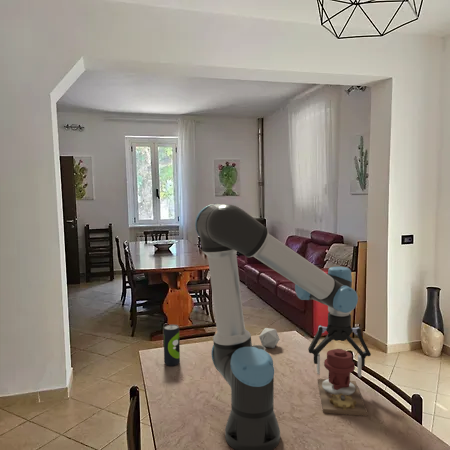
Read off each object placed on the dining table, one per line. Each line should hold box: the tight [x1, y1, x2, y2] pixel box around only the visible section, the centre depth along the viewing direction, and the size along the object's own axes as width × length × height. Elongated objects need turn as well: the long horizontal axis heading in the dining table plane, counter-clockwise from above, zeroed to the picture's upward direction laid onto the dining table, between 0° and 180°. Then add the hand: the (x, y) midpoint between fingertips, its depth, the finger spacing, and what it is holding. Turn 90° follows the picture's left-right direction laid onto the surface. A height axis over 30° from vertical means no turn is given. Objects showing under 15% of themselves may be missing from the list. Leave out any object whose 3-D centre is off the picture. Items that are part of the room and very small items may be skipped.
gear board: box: [317, 378, 368, 417], centre depth 127 cm, size 20×13×3 cm, turn 171°
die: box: [258, 327, 281, 349], centre depth 171 cm, size 8×9×10 cm
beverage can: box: [163, 324, 181, 367], centre depth 154 cm, size 6×6×15 cm
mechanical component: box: [323, 348, 356, 390], centre depth 131 cm, size 12×10×10 cm
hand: (338, 374), depth 131 cm, fingers open, 13 cm apart
